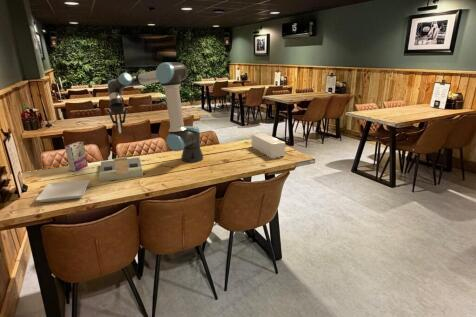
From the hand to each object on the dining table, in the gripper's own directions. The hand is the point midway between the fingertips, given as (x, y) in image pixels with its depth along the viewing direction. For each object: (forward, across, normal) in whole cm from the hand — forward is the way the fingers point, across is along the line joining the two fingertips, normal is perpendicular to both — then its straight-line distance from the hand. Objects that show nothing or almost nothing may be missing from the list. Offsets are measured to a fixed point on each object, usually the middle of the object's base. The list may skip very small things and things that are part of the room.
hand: (120, 132), depth 191 cm
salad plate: (+41, +30, +13) cm, 53 cm away
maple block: (+29, +2, +4) cm, 29 cm away
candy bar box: (+15, +27, -18) cm, 36 cm away
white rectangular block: (+25, -101, -5) cm, 104 cm away
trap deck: (+24, +2, -6) cm, 25 cm away
